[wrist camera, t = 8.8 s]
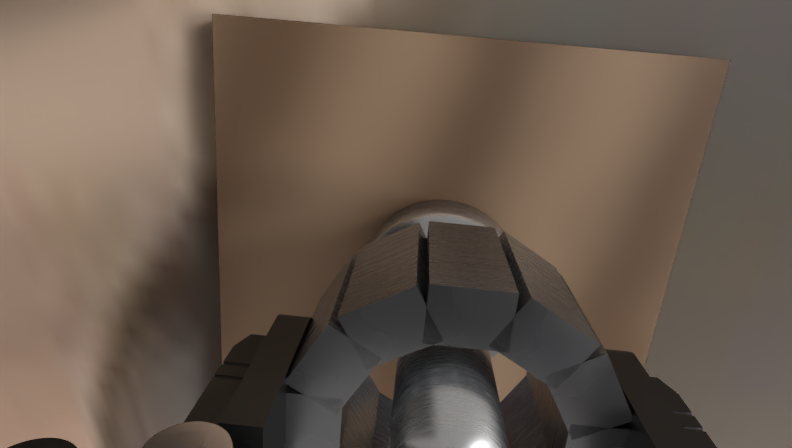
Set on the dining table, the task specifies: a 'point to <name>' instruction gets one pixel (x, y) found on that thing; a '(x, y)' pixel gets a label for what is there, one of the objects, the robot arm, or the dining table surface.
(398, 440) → the post
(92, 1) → the dining table surface
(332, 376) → the ring
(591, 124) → the board
